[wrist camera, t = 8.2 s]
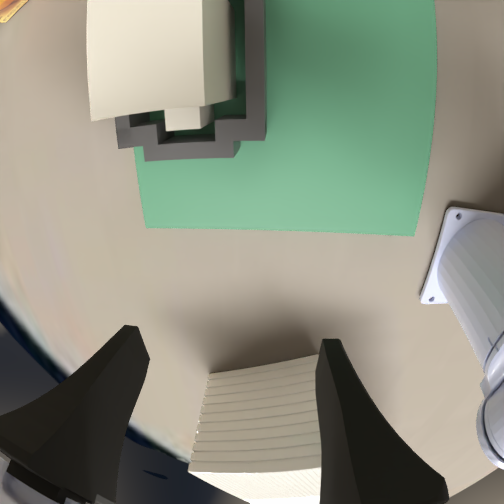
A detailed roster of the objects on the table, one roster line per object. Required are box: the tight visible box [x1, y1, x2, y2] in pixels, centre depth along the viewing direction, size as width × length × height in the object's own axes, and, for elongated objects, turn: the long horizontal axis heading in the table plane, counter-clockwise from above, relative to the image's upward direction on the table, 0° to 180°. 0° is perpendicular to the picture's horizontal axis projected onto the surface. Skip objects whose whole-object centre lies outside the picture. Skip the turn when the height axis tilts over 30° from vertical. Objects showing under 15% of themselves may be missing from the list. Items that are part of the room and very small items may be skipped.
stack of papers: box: [188, 354, 321, 504], centre depth 29 cm, size 32×11×11 cm, turn 22°
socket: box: [115, 0, 267, 162], centre depth 12 cm, size 7×9×2 cm
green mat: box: [134, 0, 437, 236], centre depth 13 cm, size 17×20×1 cm
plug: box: [87, 0, 237, 131], centre depth 10 cm, size 4×8×7 cm, turn 1°
